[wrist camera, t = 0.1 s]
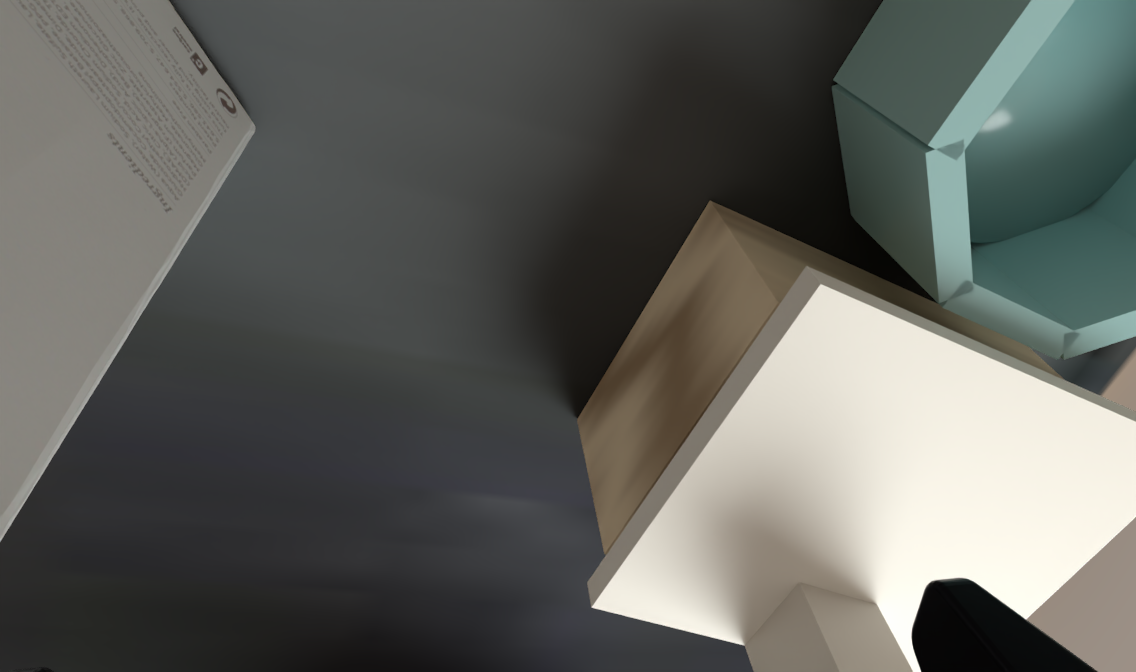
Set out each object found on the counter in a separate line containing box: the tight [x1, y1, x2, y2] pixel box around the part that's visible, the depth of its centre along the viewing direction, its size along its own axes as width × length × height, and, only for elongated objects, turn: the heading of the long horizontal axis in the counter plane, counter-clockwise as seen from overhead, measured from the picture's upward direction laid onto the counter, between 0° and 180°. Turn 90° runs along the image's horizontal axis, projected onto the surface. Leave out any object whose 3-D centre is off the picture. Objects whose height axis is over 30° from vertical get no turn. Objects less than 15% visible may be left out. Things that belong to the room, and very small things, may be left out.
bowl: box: [831, 0, 1136, 360], centre depth 20 cm, size 10×10×5 cm
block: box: [577, 201, 1064, 554], centre depth 24 cm, size 8×12×6 cm, turn 63°
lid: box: [587, 266, 1136, 672], centre depth 18 cm, size 10×12×7 cm
